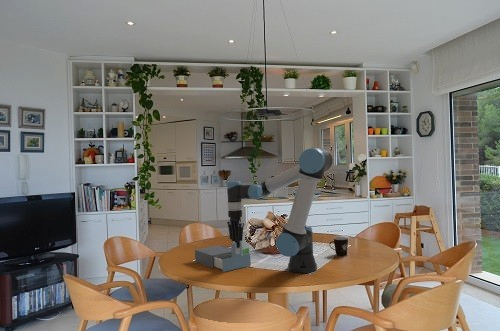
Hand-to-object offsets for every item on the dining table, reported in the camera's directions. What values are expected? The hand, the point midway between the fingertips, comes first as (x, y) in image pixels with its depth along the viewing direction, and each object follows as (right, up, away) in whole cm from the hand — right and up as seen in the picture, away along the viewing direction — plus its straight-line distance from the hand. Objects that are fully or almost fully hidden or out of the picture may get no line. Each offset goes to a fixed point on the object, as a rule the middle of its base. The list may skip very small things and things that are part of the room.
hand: (236, 253), depth 190 cm
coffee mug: (+61, -7, +22) cm, 65 cm away
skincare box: (+2, -9, +31) cm, 32 cm away
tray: (-5, -8, +7) cm, 12 cm away
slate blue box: (-12, -9, +16) cm, 22 cm away
